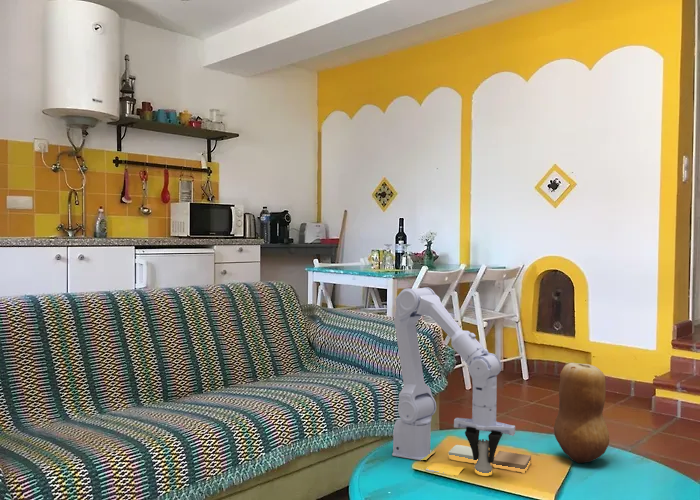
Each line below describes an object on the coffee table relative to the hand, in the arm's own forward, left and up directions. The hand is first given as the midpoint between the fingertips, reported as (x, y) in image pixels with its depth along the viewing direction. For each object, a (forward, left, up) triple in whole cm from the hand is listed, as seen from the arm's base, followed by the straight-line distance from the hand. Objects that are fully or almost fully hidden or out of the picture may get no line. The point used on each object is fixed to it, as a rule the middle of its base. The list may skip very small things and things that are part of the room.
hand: (483, 460), depth 149 cm
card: (-9, -2, -3) cm, 10 cm away
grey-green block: (-7, +9, -3) cm, 12 cm away
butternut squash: (+20, +22, -3) cm, 30 cm away
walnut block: (+5, +9, -3) cm, 11 cm away
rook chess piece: (0, 0, -3) cm, 3 cm away
